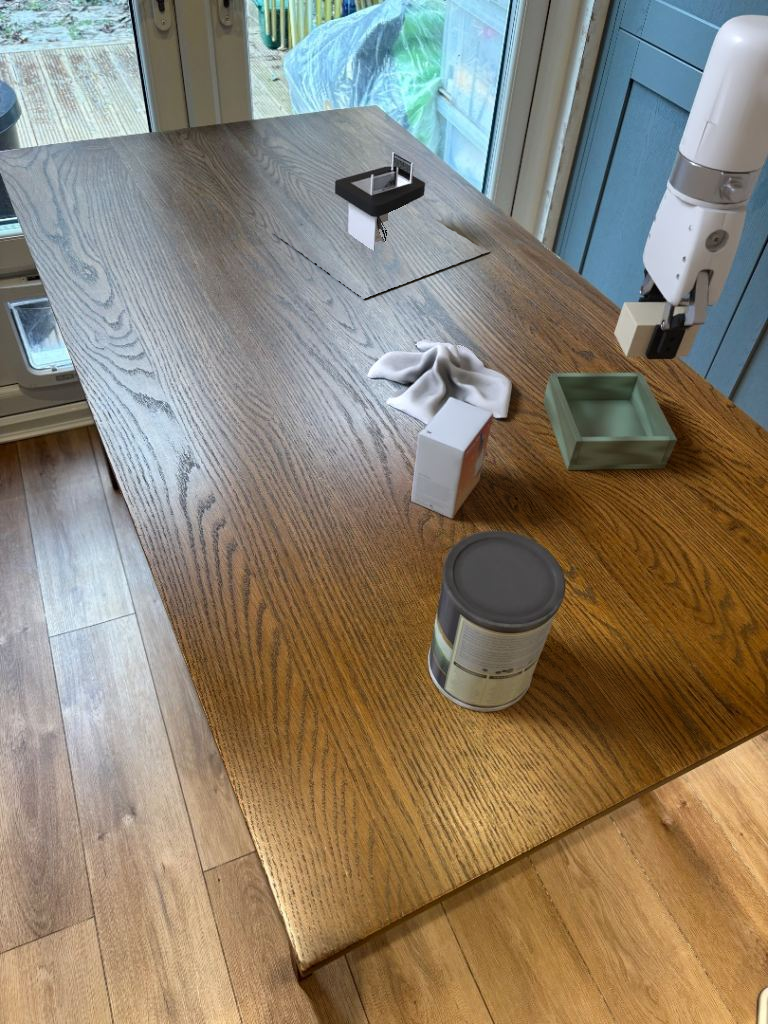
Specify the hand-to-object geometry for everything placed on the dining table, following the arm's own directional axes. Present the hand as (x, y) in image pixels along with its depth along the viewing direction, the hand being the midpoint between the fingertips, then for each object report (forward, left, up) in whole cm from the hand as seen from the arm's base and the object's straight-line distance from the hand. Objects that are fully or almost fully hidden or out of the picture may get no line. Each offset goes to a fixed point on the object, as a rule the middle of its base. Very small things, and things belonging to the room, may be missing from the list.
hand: (651, 342), depth 82 cm
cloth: (+20, -17, -17) cm, 31 cm away
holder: (0, -5, -17) cm, 18 cm away
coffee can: (+22, +29, -17) cm, 40 cm away
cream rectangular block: (0, 0, 0) cm, 0 cm away
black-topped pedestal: (+25, -56, -17) cm, 63 cm away
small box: (+22, +5, -17) cm, 28 cm away
